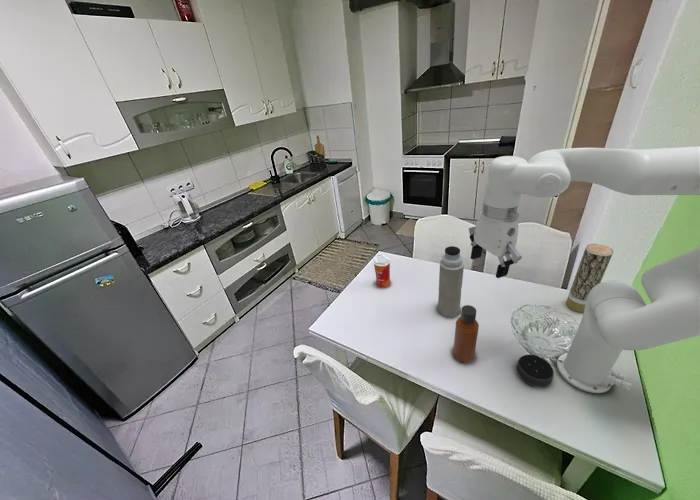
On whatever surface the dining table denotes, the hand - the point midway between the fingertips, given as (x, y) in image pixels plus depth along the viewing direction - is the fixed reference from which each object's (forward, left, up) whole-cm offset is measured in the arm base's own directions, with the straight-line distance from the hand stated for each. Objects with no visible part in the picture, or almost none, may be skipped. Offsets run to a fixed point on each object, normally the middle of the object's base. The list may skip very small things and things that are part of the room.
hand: (487, 266), depth 76 cm
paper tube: (-24, -37, -33) cm, 55 cm away
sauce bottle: (+2, +5, -33) cm, 33 cm away
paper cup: (+45, -13, -33) cm, 57 cm away
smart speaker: (-17, +1, -33) cm, 37 cm away
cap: (+2, +5, -16) cm, 17 cm away
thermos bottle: (+14, -12, -33) cm, 38 cm away
